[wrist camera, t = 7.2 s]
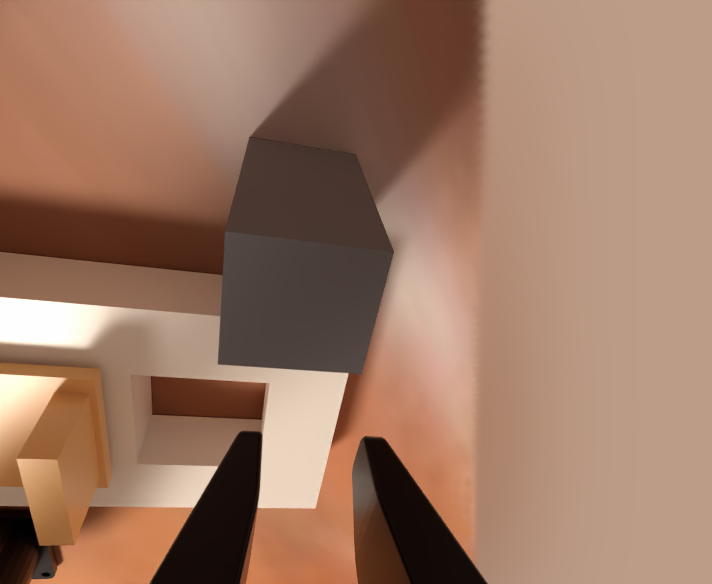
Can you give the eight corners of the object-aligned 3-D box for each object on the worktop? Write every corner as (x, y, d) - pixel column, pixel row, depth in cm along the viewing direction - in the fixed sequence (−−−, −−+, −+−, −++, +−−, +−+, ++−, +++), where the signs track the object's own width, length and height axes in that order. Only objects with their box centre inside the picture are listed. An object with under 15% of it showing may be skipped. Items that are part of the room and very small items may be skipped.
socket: (312, 460, 28) (315, 508, 25) (-40, 451, 24) (-78, 505, 21) (351, 288, 21) (359, 328, 19) (-115, 239, 18) (-181, 281, 15)
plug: (337, 246, 20) (361, 374, 14) (241, 234, 19) (217, 364, 13) (355, 154, 18) (394, 251, 12) (249, 137, 17) (224, 231, 11)
